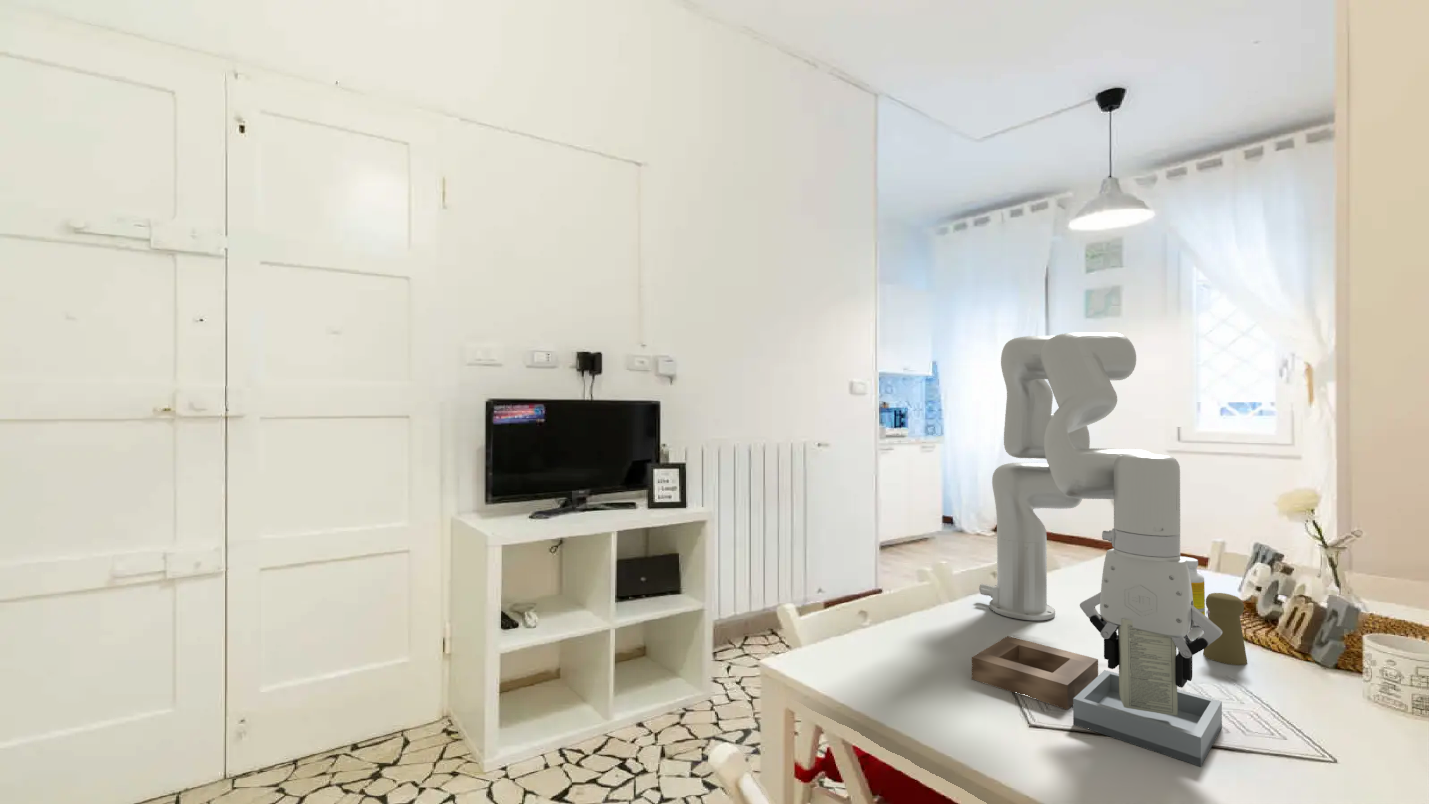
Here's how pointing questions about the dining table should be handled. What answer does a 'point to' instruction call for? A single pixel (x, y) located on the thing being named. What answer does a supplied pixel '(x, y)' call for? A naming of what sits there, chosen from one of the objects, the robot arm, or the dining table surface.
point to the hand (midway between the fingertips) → (1146, 673)
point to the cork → (1226, 629)
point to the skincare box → (1146, 670)
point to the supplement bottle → (1196, 585)
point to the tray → (1150, 720)
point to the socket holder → (1035, 670)
